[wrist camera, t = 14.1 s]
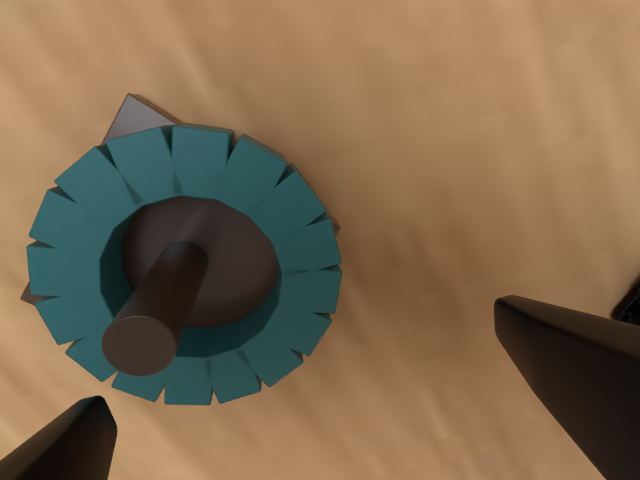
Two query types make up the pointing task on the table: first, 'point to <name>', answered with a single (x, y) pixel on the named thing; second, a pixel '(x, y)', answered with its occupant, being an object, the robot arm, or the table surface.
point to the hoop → (113, 286)
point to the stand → (181, 266)
